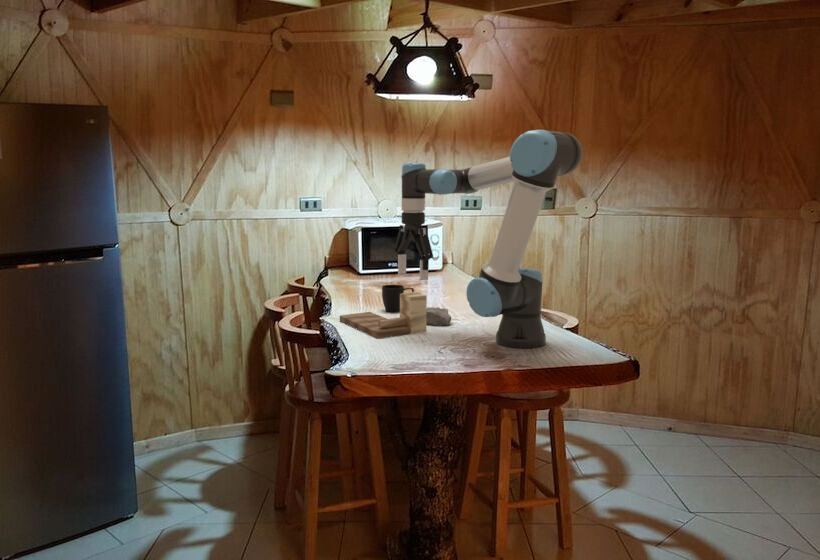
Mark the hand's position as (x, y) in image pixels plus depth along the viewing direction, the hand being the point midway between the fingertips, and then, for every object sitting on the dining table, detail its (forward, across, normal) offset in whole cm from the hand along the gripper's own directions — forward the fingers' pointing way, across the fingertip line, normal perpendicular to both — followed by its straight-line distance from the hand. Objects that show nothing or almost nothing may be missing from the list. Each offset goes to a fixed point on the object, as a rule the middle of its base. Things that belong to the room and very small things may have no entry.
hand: (412, 276), depth 204 cm
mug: (+18, +28, -11) cm, 35 cm away
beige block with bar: (+18, 0, +5) cm, 19 cm away
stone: (+18, +3, -12) cm, 22 cm away
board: (+18, +10, +9) cm, 22 cm away
